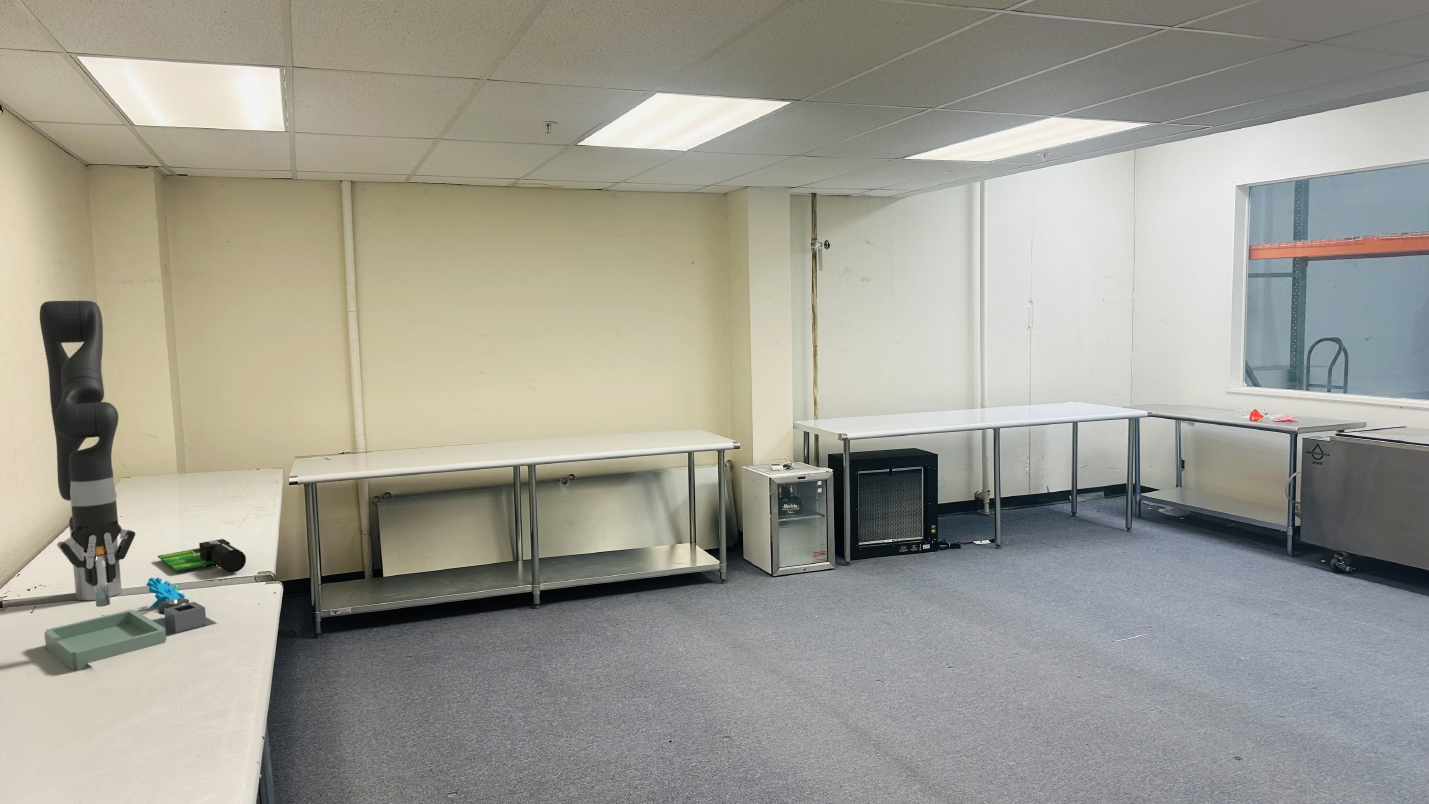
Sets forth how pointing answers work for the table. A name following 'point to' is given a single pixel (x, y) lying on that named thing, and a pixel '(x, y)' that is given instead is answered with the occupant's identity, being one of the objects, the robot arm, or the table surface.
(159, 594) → the blue jagged piece
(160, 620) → the grey slotted holder
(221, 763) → the table surface
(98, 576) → the capped test tube
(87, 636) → the tray
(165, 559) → the electronic board model
